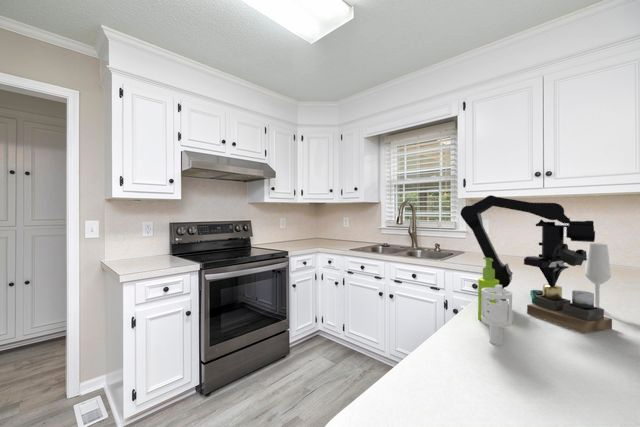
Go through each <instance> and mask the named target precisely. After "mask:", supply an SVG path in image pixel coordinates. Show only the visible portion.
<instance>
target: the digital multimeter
mask: <svg viewBox="0 0 640 427" xmlns="http://www.w3.org/2000/svg"><path fill="white" fill-rule="evenodd" d="M540 295H543V290H541V289H540V290H539V289H531V290H530V296H531V303H532V304H535V296H540Z"/></svg>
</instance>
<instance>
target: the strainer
mask: <svg viewBox="0 0 640 427" xmlns="http://www.w3.org/2000/svg"><path fill="white" fill-rule="evenodd" d="M504 289H505V288H503V289H502V285H495V288H482V289H481V294H482V299H481V320H482V321H481V320H480V321H481V322H483V323H484V324H486V325H489V342H490V344H493V345H496V346H502V345H503V344H504V341H503V340H504V336H503V335H504V328H509V327H512V326H513V292H512V291H510V290H507V289H505V290H504ZM489 292H496V294H494V293H489ZM485 296H487V297H485ZM495 299H497V300H496V304H495V303H491V302H490V300H495ZM500 299H506V301H502V300H500Z"/></svg>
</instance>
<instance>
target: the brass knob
mask: <svg viewBox="0 0 640 427" xmlns="http://www.w3.org/2000/svg"><path fill="white" fill-rule="evenodd" d="M542 291H543V297H544V298H546V299H550V300H562V298H563V287H562V286H560V285H557V284H555V286H553V287H552V286H550V285H549V284H545V283H544V284H542Z"/></svg>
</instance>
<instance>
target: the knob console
mask: <svg viewBox="0 0 640 427" xmlns="http://www.w3.org/2000/svg"><path fill="white" fill-rule="evenodd" d="M604 310H605V309H604V308H602V307H601V308H598V307H594V308H583V307H578V306H575V305H573V304H572V300H570V299H568V298H563V297H562V300H550V299H546V298H544V297H543V295H540V296H535V304H533V303H532V304H527V305H526V314H528V315H529V316H533V317H536V318H538V319H539V318H540V319H542V320H545V321H547V322H551V323H553V324H556V325H559V326H561V327H565V328H567V329H570V330H573V331H576V332H580V333H582V334H589V333H595V332H600V331H601V332H602V331H606V330H612V329H613V318H610V317H607V316H605V315H604Z"/></svg>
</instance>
